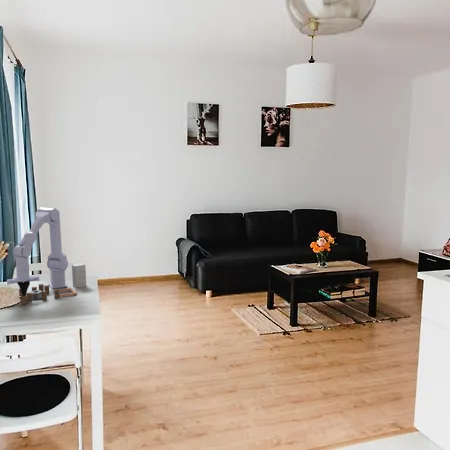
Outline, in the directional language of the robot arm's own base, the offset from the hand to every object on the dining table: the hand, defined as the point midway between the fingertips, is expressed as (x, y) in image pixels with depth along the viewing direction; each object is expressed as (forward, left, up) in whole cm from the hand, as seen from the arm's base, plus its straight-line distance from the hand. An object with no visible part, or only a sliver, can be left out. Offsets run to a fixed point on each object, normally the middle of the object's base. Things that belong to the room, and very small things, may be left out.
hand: (24, 296), depth 234 cm
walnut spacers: (0, +6, -1) cm, 6 cm away
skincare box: (-11, +30, -2) cm, 32 cm away
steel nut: (0, +6, -1) cm, 6 cm away
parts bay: (0, +19, -1) cm, 19 cm away
